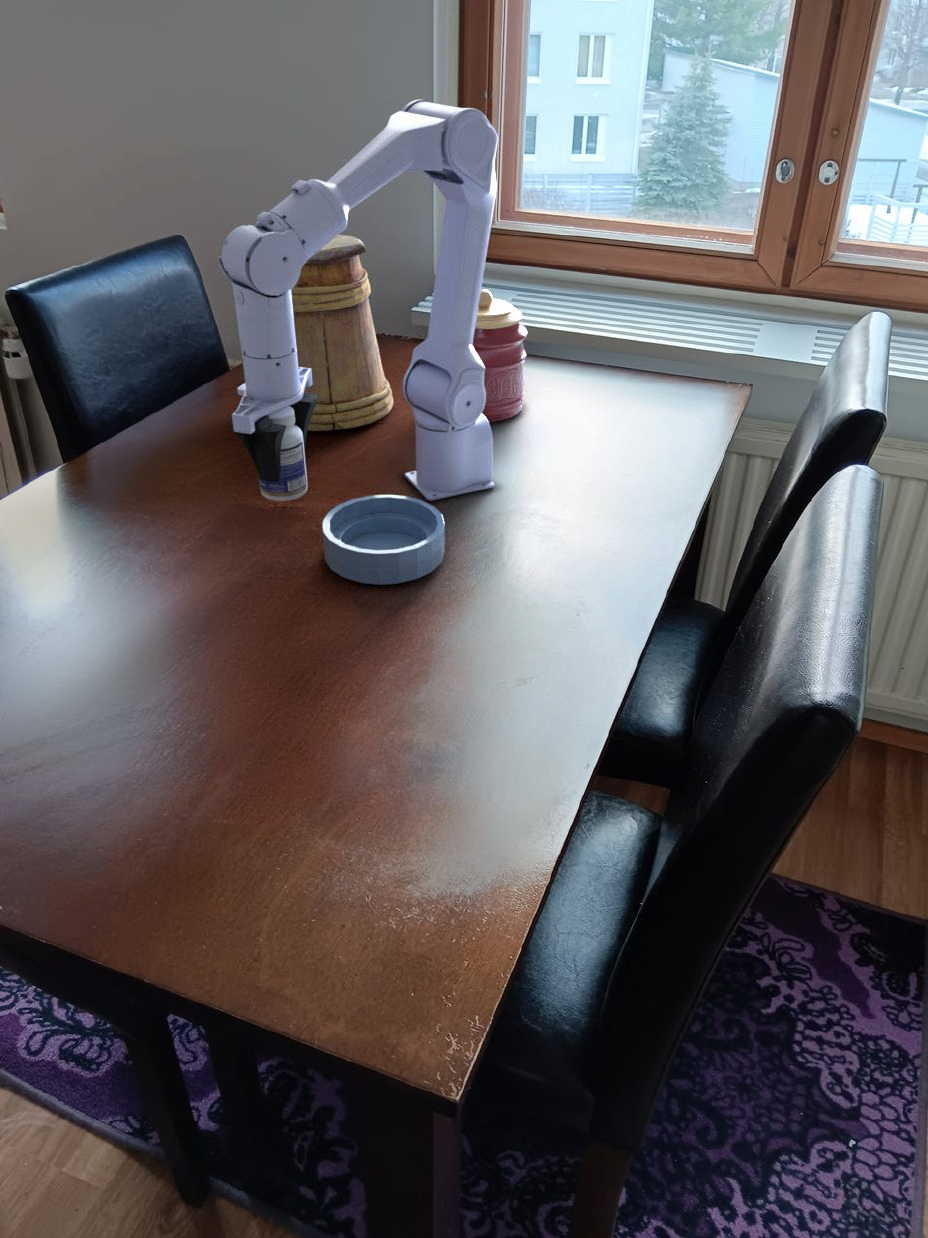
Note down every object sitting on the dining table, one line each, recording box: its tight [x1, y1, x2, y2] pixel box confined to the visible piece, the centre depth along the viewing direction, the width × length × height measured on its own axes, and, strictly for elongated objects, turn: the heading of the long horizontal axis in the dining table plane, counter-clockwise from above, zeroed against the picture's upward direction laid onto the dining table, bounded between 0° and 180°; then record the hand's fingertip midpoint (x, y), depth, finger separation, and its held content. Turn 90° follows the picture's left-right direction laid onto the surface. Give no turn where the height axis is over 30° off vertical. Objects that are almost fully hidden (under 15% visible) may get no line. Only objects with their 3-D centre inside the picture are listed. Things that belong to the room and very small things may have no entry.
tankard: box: [291, 234, 394, 432], centre depth 140 cm, size 18×24×25 cm
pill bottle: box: [257, 406, 308, 502], centre depth 108 cm, size 5×5×10 cm
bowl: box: [321, 494, 446, 586], centre depth 110 cm, size 14×14×4 cm
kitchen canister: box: [472, 288, 528, 423], centre depth 143 cm, size 13×13×18 cm
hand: (282, 468), depth 109 cm, fingers closed on pill bottle, 5 cm apart
